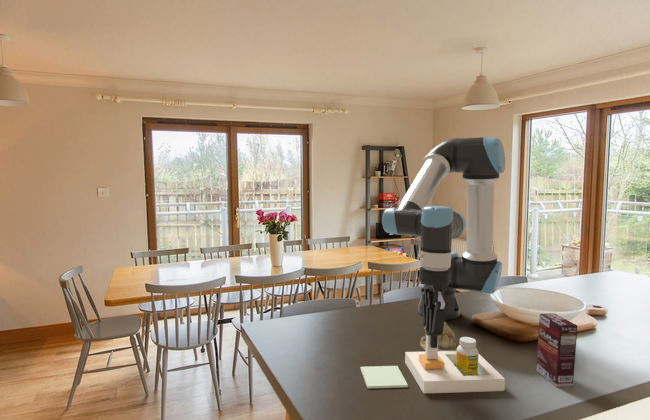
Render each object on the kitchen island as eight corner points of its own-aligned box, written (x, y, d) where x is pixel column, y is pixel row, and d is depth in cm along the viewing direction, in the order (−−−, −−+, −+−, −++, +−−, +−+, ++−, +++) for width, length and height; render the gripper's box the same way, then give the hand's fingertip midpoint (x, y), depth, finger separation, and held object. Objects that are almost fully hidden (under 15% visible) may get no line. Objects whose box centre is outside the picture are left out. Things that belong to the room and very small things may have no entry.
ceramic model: (415, 339, 129) (416, 308, 129) (450, 339, 130) (451, 308, 129) (428, 359, 115) (429, 325, 115) (467, 359, 116) (469, 325, 115)
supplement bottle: (464, 368, 110) (466, 334, 109) (481, 377, 106) (483, 341, 105) (451, 373, 107) (452, 338, 106) (468, 382, 103) (470, 345, 102)
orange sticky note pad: (418, 370, 108) (418, 354, 107) (436, 370, 108) (437, 354, 108) (424, 380, 103) (425, 363, 102) (443, 379, 103) (444, 362, 103)
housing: (405, 362, 113) (405, 352, 113) (474, 360, 115) (475, 350, 114) (423, 393, 97) (424, 381, 97) (504, 390, 99) (505, 378, 99)
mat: (360, 368, 109) (360, 366, 109) (397, 367, 110) (397, 365, 110) (367, 388, 99) (367, 386, 99) (407, 387, 100) (407, 384, 100)
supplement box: (535, 370, 109) (538, 313, 108) (552, 370, 110) (556, 312, 108) (555, 387, 101) (560, 325, 99) (574, 387, 101) (578, 324, 100)
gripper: (412, 262, 109) (409, 347, 111) (429, 273, 96) (425, 370, 98) (440, 261, 110) (436, 346, 112) (460, 273, 97) (455, 369, 99)
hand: (431, 357), depth 105 cm, fingers closed
